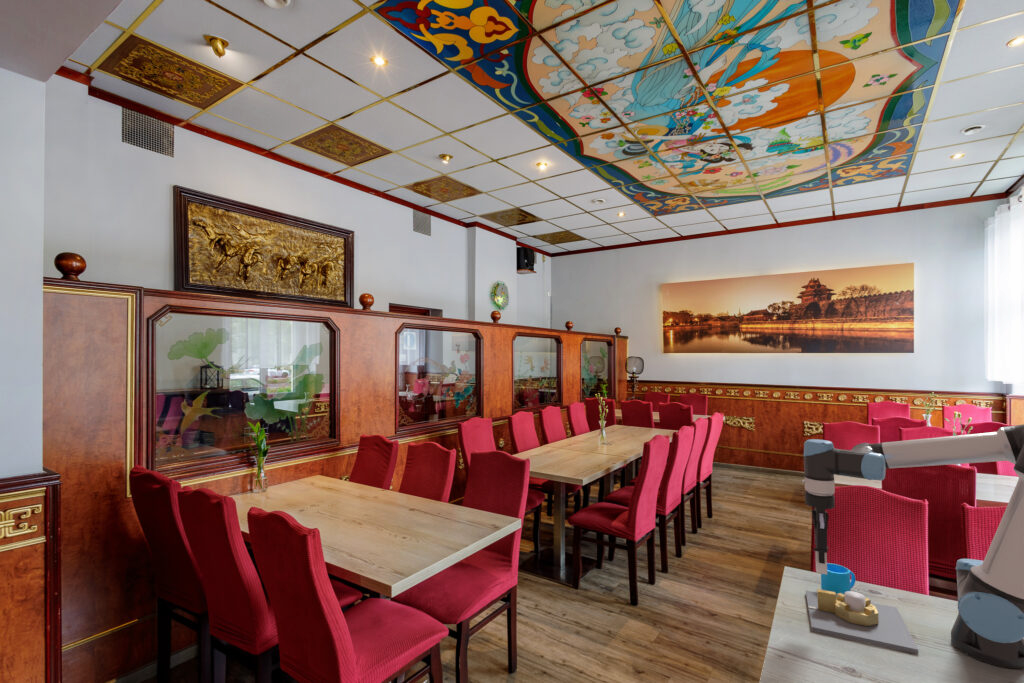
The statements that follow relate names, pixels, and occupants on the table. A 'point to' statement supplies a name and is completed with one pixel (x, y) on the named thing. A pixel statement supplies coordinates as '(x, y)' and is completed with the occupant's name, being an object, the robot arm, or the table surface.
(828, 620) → the housing plate
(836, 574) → the mug
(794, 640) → the table surface
